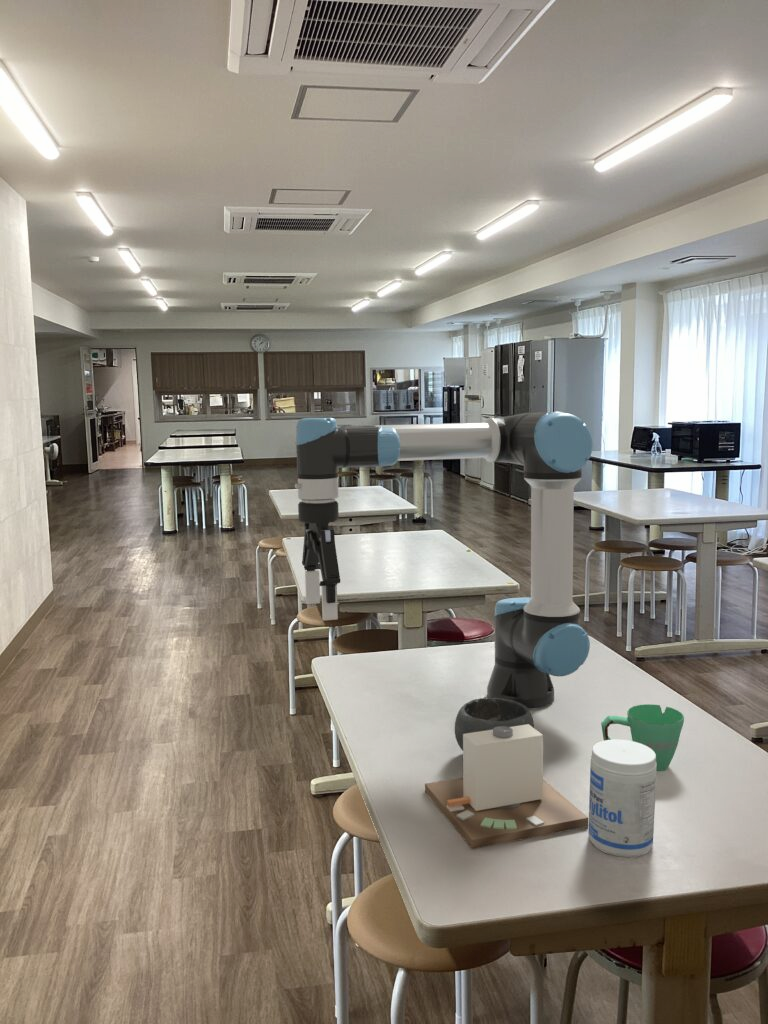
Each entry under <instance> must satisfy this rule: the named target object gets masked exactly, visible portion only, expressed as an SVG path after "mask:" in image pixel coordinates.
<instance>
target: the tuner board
mask: <svg viewBox="0 0 768 1024" xmlns="http://www.w3.org/2000/svg"><path fill="white" fill-rule="evenodd" d="M424 792H425V794H426V795H427V796H428V797H429V798H430V800H431V802H433V804H434V805H435V806H436V807H437V808H438V809H439V811H440V812H441V813H442V814H443V815H444V817H445V818H446V819H447V820H448V822H449V823H450V824H451V825H452V826H453V828H454V829H455V831H456V832H458V834H459V835H460V836H461V838H462V839H463V840H464V841H465V842H466V844H467V845H468V846H469V847H470V848H471V850H475V849H481V848H484V847H491V846H495V845H496V846H497V845H500V844H502V845H503V844H507V843H511V842H515V841H521V840H526V839H532V838H536V837H542V836H547V835H551V834H556V833H562V832H568V831H573V830H577V829H578V830H579V829H583V828H589V816H587V815H586V814H585V813H583V811H581V809H579V808H578V807H577V806H576V805H574V804H573V803H572V802H570V800H568V799H567V798H566V797H565V796H564V795H562V794H561V793H560V792H559V791H558V790H557V789H555V788H554V787H553V786H552V785H551V784H550V783H548V782H547V781H546V780H545V779H544V778H543V799H539V800H534V801H528V802H523V803H517V804H512V805H506V806H501V807H495V808H490V809H484V810H479V811H475V809H474V808H473V807H472V806H471V805H470V804H469V803H467V804H462V806H463V807H464V809H463V810H457V811H452V812H450V811H449V809H448V808H447V800H451V799H457V798H462V797H463V776H462V777H457V778H452V779H451V778H450V779H444V780H439V781H432V782H427V783H424ZM466 810H468V811H470V812H472V813H474V816H472V817H470V818H468V819H465V820H462V819H460V818H458V817H457V814H459V813H462V812H464V811H466ZM531 816H536V817H537V818H539V819H540V820H542V821H543V822H544V824H542V825H539V826H534V825H533V824H532V823H530V822H529V821H527V820H526V818H528V817H531ZM485 817H486V818H491V819H499V820H515V823H516V826H517V829H508V830H507V829H506V826H505V824H504V829H493V826H494V823H493V825H492V827H491V828H487V827H482V826H481V823H482V821H483V820H484V818H485Z"/></svg>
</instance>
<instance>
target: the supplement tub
mask: <svg viewBox="0 0 768 1024" xmlns="http://www.w3.org/2000/svg"><path fill="white" fill-rule="evenodd" d="M656 766H657V763H656V754H655V752H654V751H653V750H652V749H651V748H649V747H647V746H645V745H643V744H640V743H637V742H633V741H632V740H629V739H617V738H616V739H613V738H612V739H611V740H605V741H604V740H602V741H599V742H596V743H595V744H594V745H593V746H592V750H591V756H590V768H589V774H590V775H589V797H588V798H589V799H588V800H589V801H588V802H589V805H588V833H587V834H588V839H589V840H590V842H591V844H592V845H593V846H594V847H595V848H597V849H598V850H600V851H602V852H603V853H606V854H608V855H612V856H617V857H621V858H622V857H623V858H637V857H640V856H642V855H645V854H647V853H649V852H650V850H651V849H653V845H654V834H655V833H654V832H655V831H654V830H655V829H654V828H655V809H656V788H657V772H656Z"/></svg>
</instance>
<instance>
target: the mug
mask: <svg viewBox="0 0 768 1024" xmlns="http://www.w3.org/2000/svg"><path fill="white" fill-rule="evenodd" d="M626 715H627V717H625V716H620V715H607V716H606V717H605V718H604V719H603V721H602V722H601V732H602V733H601V734H602V736H603V737H602V738H603V741H605V740H612V739H611V738H610V737H609V727H610V726H611V725H616V724H617V725H622V726H626V727H629V728H630V735H631V741H633V742H637V743H640V744H643V745H645V746H647V747H649V748H651V749H652V750H653V751H654V752H655V754H656V763H657V766H656V773H657V772H658V773H659V772H665V771H667V770H668V769H669V767H670V764H671V762H672V760H673V758H674V756H675V753H676V750H677V748H678V745H679V742H680V736H681V733H682V730H683V726H684V721H685V717H684V713H682V712H681V711H679V710H678V709H676V708H674V707H670V706H669V707H668V706H666V707H665V709H664V712H662V707H661V705H659V704H652V703H651V704H650V703H647V704H638V705H634V706H631V707H629V708H628V710H627V714H626Z"/></svg>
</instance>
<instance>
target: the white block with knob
mask: <svg viewBox="0 0 768 1024" xmlns="http://www.w3.org/2000/svg"><path fill="white" fill-rule="evenodd" d="M534 728H535V727H534ZM534 728H533V727H532V726H530V725H529V724H526V725H520V726H513V727H506V726H498V727H495V728H493V730H486V731H480V732H473V733H466V734H463V751H462V761H463V762H462V765H463V766H462V767H463V769H462V770H463V772H462V773H463V774H462V775H463V776H462V777H463V797H462V798H457V799H451V800H447V805H448V806H449V807H451V806H456V805H462V804H467V803H469V804H470V805H471V806H472V807H473V808H474V809H475V811H479V810H484V809H490V808H495V807H501V806H506V805H512V804H517V803H523V802H528V801H534V800H539V799H543V779H544V778H543V776H544V773H543V771H544V769H543V768H544V767H543V766H544V764H543V762H544V759H543V758H544V735H543V734H542V733H541V732H540V731H538V730H537V729H536V728H535V729H534Z"/></svg>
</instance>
